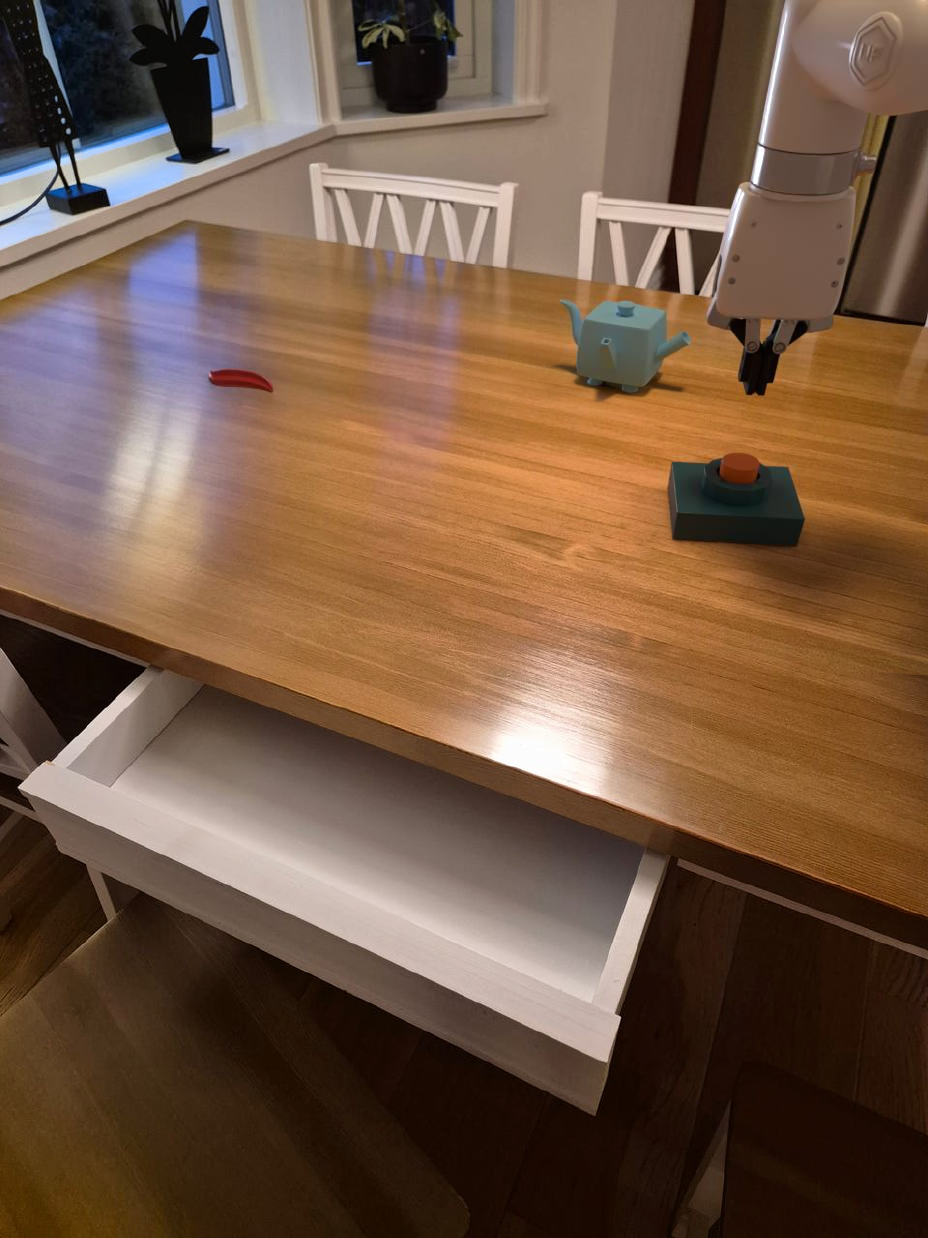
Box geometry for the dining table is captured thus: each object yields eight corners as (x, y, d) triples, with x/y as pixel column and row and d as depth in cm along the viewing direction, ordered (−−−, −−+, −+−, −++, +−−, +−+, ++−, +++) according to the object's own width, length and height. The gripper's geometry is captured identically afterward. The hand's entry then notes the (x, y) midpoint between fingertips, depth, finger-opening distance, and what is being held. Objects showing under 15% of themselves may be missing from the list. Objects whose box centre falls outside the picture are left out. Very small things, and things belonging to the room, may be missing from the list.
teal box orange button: (781, 492, 89) (792, 451, 86) (797, 546, 81) (809, 502, 78) (667, 487, 90) (673, 445, 87) (672, 539, 83) (679, 496, 80)
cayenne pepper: (198, 377, 115) (195, 364, 114) (225, 366, 118) (222, 353, 117) (253, 400, 109) (250, 386, 108) (280, 388, 112) (278, 374, 111)
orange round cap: (753, 468, 84) (757, 453, 83) (758, 486, 81) (762, 471, 80) (717, 466, 85) (720, 451, 83) (720, 485, 82) (723, 469, 81)
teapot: (696, 372, 113) (709, 297, 106) (664, 415, 103) (675, 335, 97) (573, 350, 120) (578, 278, 113) (532, 388, 110) (535, 312, 104)
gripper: (889, 160, 67) (828, 375, 79) (701, 157, 69) (669, 368, 81) (915, 184, 62) (845, 411, 74) (709, 180, 63) (673, 403, 75)
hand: (753, 388), depth 77 cm, fingers closed
